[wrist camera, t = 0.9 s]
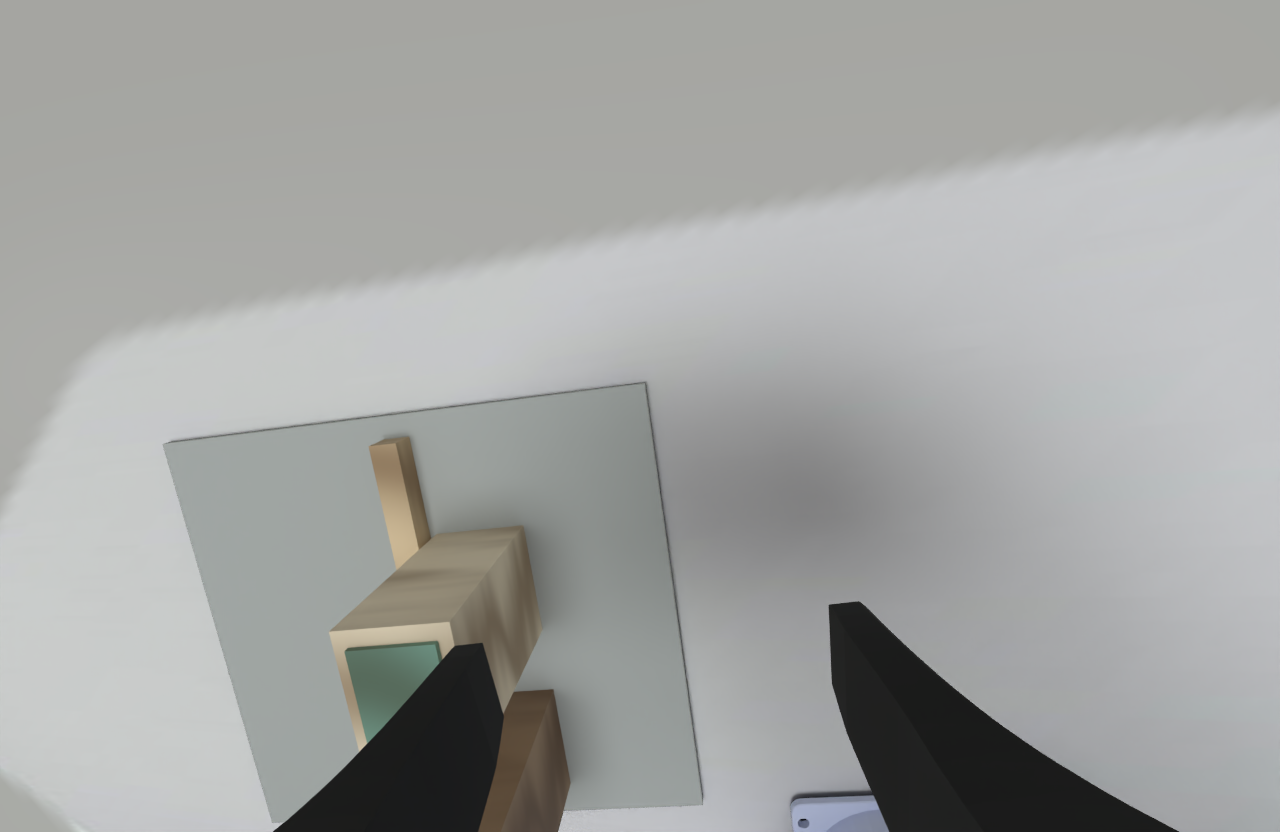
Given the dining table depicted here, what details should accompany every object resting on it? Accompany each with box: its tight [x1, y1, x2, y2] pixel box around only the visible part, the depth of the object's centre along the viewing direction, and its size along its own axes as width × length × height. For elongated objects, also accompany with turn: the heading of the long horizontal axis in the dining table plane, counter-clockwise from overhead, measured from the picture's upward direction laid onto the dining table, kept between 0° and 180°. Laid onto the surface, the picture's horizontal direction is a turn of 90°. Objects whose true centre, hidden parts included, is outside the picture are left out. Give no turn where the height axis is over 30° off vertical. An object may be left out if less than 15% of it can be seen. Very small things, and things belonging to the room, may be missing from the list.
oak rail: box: [368, 437, 431, 570], centre depth 27 cm, size 18×1×1 cm, turn 8°
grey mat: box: [163, 382, 703, 823], centre depth 28 cm, size 20×22×1 cm
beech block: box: [329, 525, 543, 752], centre depth 23 cm, size 5×4×8 cm
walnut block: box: [478, 689, 571, 832], centre depth 25 cm, size 5×4×8 cm
